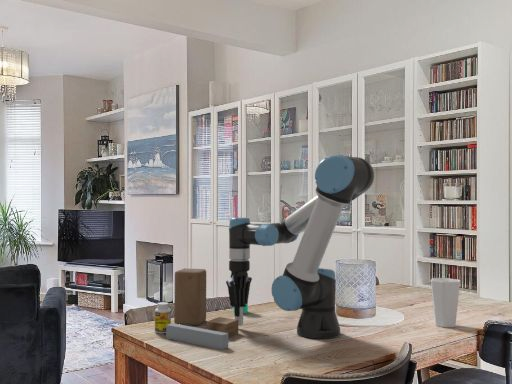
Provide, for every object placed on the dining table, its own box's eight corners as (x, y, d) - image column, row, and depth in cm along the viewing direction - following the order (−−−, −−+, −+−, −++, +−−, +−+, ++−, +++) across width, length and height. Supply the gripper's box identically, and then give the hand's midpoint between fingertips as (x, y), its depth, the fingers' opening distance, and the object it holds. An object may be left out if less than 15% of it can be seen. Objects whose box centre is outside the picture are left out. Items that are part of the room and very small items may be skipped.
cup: (433, 321, 212) (433, 277, 212) (461, 323, 207) (461, 279, 208) (429, 327, 202) (429, 281, 202) (458, 330, 197) (458, 283, 198)
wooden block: (199, 326, 202) (199, 272, 202) (173, 324, 204) (173, 271, 204) (206, 320, 211) (207, 268, 212) (182, 319, 213) (182, 268, 214)
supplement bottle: (151, 333, 191) (152, 304, 191) (159, 329, 196) (159, 301, 196) (166, 334, 189) (166, 305, 189) (173, 331, 194) (173, 302, 194)
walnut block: (238, 333, 191) (238, 319, 192) (226, 338, 184) (226, 324, 185) (219, 331, 195) (219, 317, 195) (206, 335, 188) (206, 321, 188)
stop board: (228, 347, 173) (228, 333, 173) (222, 349, 170) (222, 335, 170) (172, 336, 186) (172, 323, 186) (166, 338, 184) (166, 324, 184)
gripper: (241, 257, 206) (241, 320, 205) (220, 260, 195) (219, 326, 195) (258, 259, 201) (257, 322, 201) (236, 262, 191) (236, 329, 190)
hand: (239, 324), depth 198 cm, fingers closed
